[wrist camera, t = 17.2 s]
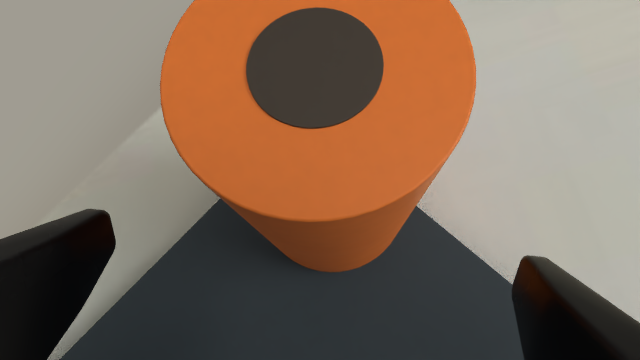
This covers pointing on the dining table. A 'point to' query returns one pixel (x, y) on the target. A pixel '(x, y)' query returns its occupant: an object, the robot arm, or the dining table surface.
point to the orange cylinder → (319, 114)
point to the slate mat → (309, 302)
